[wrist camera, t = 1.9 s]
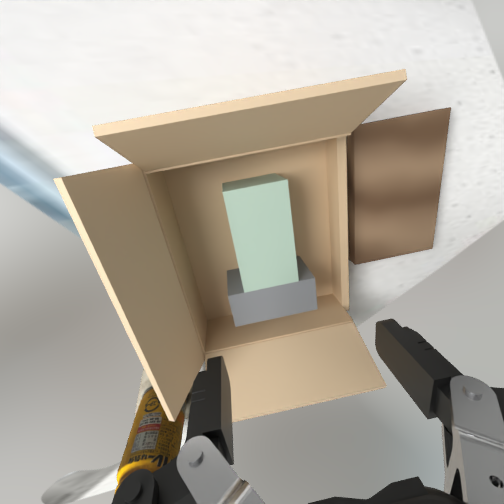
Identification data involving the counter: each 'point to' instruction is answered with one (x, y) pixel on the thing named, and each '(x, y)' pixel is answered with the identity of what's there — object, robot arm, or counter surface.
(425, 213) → the board
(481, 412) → the robot arm
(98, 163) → the counter surface
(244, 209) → the box
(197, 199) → the carton
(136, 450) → the condiment
